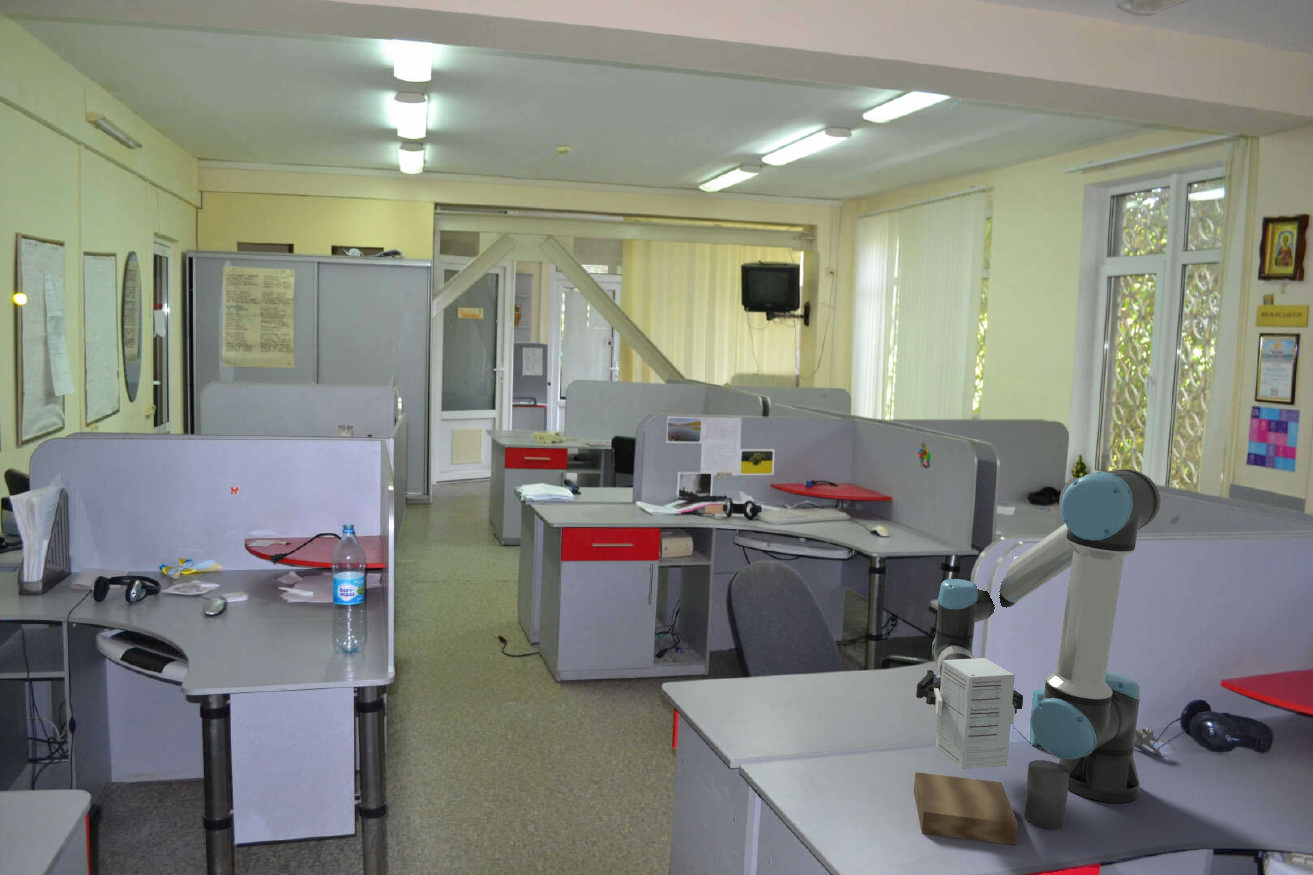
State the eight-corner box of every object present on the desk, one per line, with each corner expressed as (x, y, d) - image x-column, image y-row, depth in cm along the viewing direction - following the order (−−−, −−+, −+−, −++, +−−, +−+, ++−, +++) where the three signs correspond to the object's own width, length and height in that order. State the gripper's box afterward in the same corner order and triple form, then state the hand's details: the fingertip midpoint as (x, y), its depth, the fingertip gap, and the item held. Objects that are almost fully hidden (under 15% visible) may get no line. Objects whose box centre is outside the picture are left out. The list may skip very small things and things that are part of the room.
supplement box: (1008, 766, 173) (1017, 675, 171) (962, 770, 170) (971, 677, 168) (977, 743, 182) (985, 656, 180) (933, 746, 179) (941, 658, 178)
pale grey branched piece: (1153, 742, 219) (1175, 745, 210) (1137, 762, 218) (1158, 766, 209) (1118, 710, 221) (1138, 711, 212) (1102, 730, 220) (1121, 732, 211)
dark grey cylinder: (1059, 813, 183) (1064, 762, 182) (1068, 831, 177) (1073, 779, 175) (1020, 808, 185) (1025, 758, 183) (1027, 826, 178) (1032, 774, 177)
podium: (999, 802, 187) (1001, 782, 186) (1015, 845, 171) (1017, 823, 170) (913, 791, 189) (915, 771, 189) (921, 832, 174) (923, 811, 173)
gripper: (1020, 695, 193) (1044, 740, 172) (895, 682, 197) (904, 724, 176) (1023, 659, 192) (1048, 699, 171) (898, 646, 196) (908, 684, 175)
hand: (975, 712), depth 173 cm, fingers closed on supplement box, 12 cm apart
